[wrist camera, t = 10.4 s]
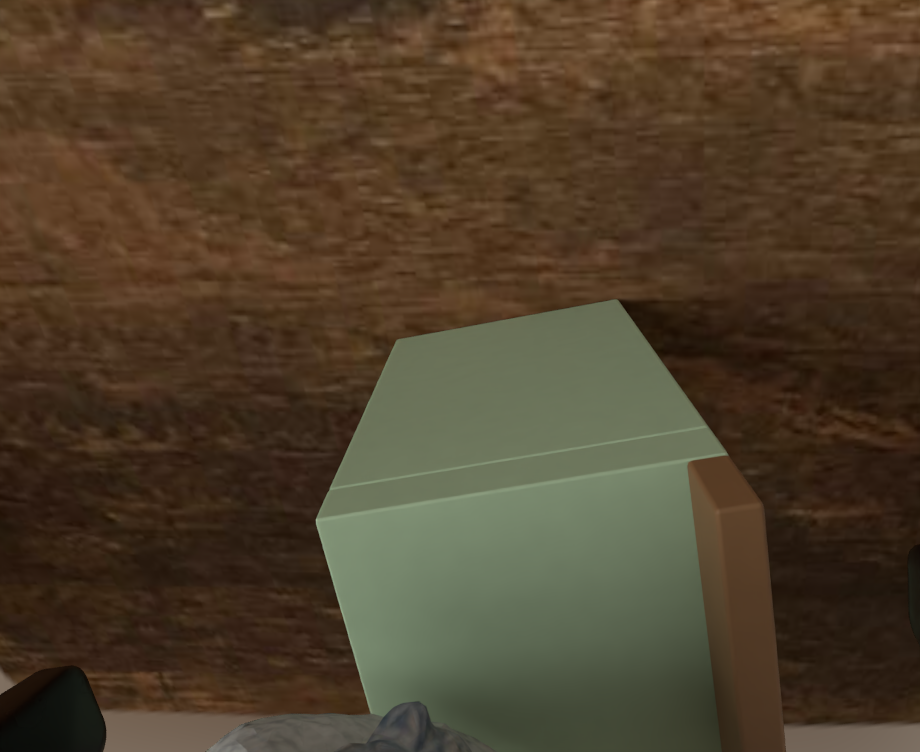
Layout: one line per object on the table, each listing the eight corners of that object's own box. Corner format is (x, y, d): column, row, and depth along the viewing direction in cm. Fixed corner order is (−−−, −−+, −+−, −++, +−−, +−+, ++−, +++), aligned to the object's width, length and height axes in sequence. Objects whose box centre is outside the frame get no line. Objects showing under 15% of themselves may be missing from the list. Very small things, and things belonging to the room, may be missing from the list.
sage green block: (458, 608, 23) (428, 1034, 12) (395, 339, 21) (288, 577, 10) (657, 579, 23) (809, 1000, 12) (618, 298, 20) (765, 503, 9)
